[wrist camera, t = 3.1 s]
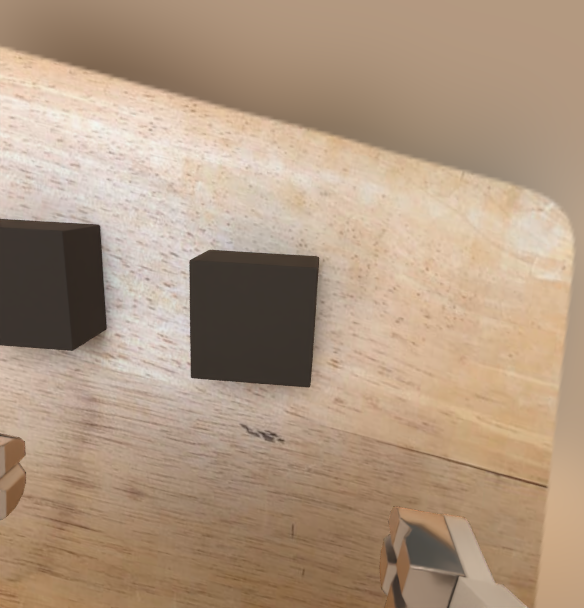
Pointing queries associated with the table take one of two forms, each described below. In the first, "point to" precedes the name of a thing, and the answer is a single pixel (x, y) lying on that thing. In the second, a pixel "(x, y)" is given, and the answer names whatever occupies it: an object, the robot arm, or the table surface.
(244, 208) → the table surface
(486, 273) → the table surface
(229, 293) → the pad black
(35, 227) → the dark brown square block
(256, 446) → the table surface
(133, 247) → the table surface
